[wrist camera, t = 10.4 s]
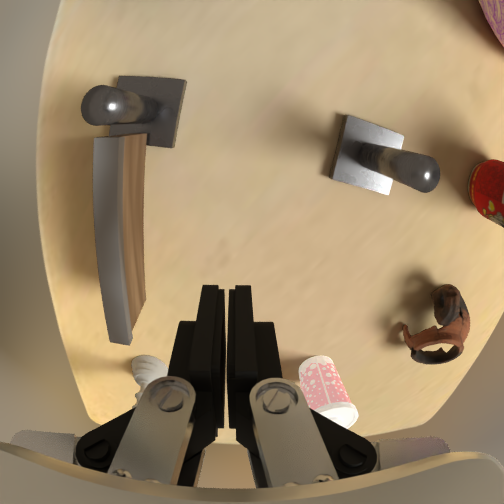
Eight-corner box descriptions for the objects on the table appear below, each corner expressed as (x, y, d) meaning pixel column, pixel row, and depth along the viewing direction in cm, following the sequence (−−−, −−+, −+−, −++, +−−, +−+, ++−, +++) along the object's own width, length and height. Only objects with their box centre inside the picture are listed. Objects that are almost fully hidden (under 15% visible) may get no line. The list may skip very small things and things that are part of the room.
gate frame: (123, 77, 21) (66, 58, 12) (398, 135, 24) (466, 147, 15) (112, 140, 23) (52, 153, 14) (383, 192, 27) (443, 227, 17)
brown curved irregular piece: (460, 314, 35) (464, 365, 30) (402, 318, 39) (401, 369, 34) (473, 259, 28) (486, 319, 22) (402, 265, 32) (403, 326, 27)
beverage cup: (294, 386, 37) (312, 476, 24) (290, 356, 34) (311, 455, 22) (338, 377, 37) (366, 462, 24) (339, 346, 34) (375, 439, 21)
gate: (150, 133, 22) (119, 137, 16) (148, 299, 28) (129, 345, 22) (130, 133, 22) (94, 137, 15) (132, 297, 28) (109, 342, 22)
